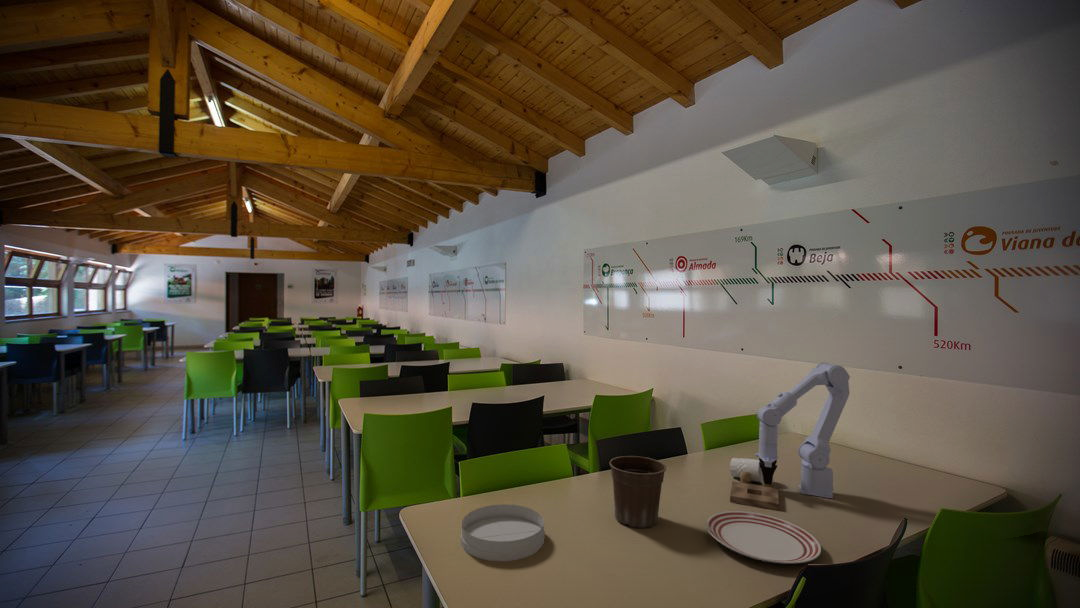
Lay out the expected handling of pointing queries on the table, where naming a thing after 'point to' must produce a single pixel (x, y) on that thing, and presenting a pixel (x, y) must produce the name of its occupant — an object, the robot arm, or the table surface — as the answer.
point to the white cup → (746, 468)
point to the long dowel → (767, 484)
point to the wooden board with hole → (754, 495)
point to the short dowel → (745, 477)
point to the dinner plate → (763, 537)
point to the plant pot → (637, 489)
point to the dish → (502, 532)
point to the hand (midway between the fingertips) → (767, 482)
